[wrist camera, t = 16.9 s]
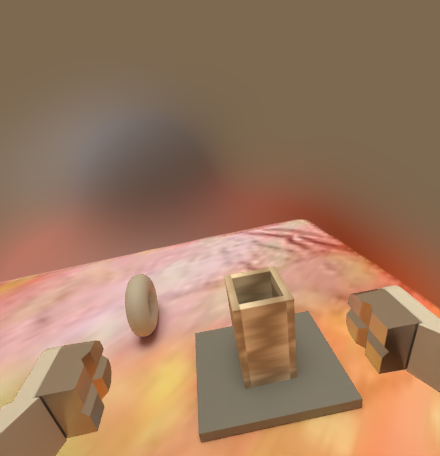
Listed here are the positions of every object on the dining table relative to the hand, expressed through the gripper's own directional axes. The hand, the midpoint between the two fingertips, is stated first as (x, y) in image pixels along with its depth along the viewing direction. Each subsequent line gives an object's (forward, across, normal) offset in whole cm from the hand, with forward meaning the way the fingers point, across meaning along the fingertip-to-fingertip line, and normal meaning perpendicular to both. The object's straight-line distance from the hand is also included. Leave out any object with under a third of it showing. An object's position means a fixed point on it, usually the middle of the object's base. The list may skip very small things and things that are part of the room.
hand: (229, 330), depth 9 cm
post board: (+17, -5, +26) cm, 31 cm away
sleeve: (+17, -5, +24) cm, 30 cm away
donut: (+29, +12, +26) cm, 41 cm away
